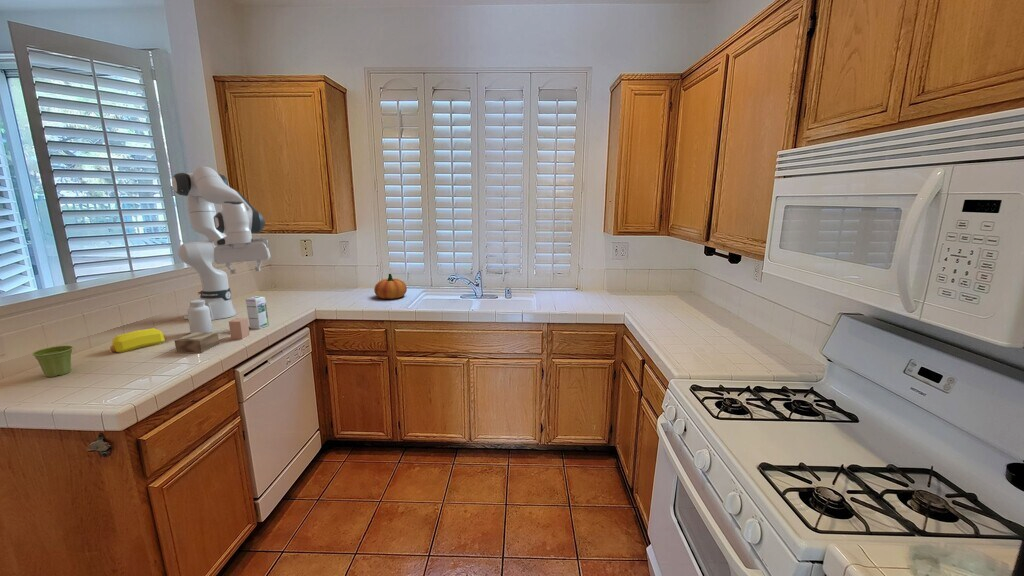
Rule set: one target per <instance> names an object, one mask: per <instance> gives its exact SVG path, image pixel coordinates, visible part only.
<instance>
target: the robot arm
mask: <svg viewBox="0 0 1024 576" xmlns="http://www.w3.org/2000/svg"><path fill="white" fill-rule="evenodd" d="M171 185H172V188H173V190H174V192H175V193H176V194H178V195H179V196H183V197H187V202H186V203H187V204H186V205H187V211H188V216H189V221H190V225H191V228H192V230H193V231H194V232H196V233H198V234H201V235H204V236H206V238H207V239H208V240H200V241H199V240H198V241H189V242H186V243H182V244H181V245H180V246H178V247H179V248H178V251H177V254H178V255H177V256H178V258H179V259H180V261H181V262H183V263H184V264H186V265H189V266H190V267H191V268H193V269H194V270H195V271H196V273H197V274H198V276H199V279H200V282H201V287H202V290H200V291H198V292H197V295H198V296H199V295H200V296H199V298H198V299H197V300H205V306H208V307H209V310H210V317H211V321H214V320H215V321H216V320H221V319H226V318H230V317H234V316H237V312H236V310H235V307H234V305H233V301H232V291H231V288H230V284H229V278H228V274H227V272H226V271H224V270H223V269H219V268H216V267H214V266H213V263H215V264H217V265H222V264H225V267H226V268H227V269H228V270H229V273H230V274H231V275H234V274H237V273H236V269H235V268H234V269H233V268H232V263H242V262H243V263H244V262H253V261H254V262H255V261H256V264H257V266H256V267H254V271H255V272H261V266H262V264H263V261H265V260H270V259H271V256H272V255H271V252H270V249H269V246H270V245H269V241H268V240H267V239H266V238H263V237H259V238H253V236H252V235H253V234H259V233H261V232H262V231H263V230H264V228H265V226H266V225H265V224H266V222H265V221H266V220H265V218H264V216H263V215H262V213H261V212H259V211H258V210H256V209H255V208H254V206H253V205H252V204H251V203H250V202H249V201H248V200H247V199H246V198H245V197H244V196H243V195H242V194H241V193H240V191H238V190H237V189H233V188H232V187H230V184H229V181H228V178H227V177H226V176H225V175H223V174H220V173H218V172H217V171H216V170H215V169H213V168H212V167H209V166H204V165H203V166H199V167H196V168H195V169H194V170H193V172H178V173H175V174H174V175H173V176H172V179H171ZM215 205H220V206H221V205H222V210H221V211H220V212H217V210H216V206H215ZM190 307H191V306H190V305H189V307H188V308H190ZM183 319H184V320H189V319H188V314H186V315H184V316H183Z"/></svg>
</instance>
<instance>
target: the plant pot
mask: <svg viewBox="0 0 1024 576" xmlns="http://www.w3.org/2000/svg"><path fill="white" fill-rule="evenodd" d="M73 349H74V346H72V345H57V346H50V347H45V348H41V349H38V350H35V351H34V352H32V353H31V355H32V356H33V357H35V359H36V360H37V362H38V364H39V366H40V368H41V370H42V373H43V374H44V377H48V378H53V377H57V376H64V375H67V374H69V373H70V372H71V371H72V354H73V353H72V352H73Z"/></svg>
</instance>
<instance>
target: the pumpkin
mask: <svg viewBox="0 0 1024 576" xmlns="http://www.w3.org/2000/svg"><path fill="white" fill-rule="evenodd" d="M407 290H408V286H407V284H406V283H405V282H404V281H403V280H401V279H399V278H393V276H392V273H388V278H383V279H381V280H379V281H378V282H377V283H376V284H375V286H374V289H373V292H374V294H375V295H376V297H378V298H380V299H383V300H393V299H399V298H402V297H404V296H405V295H406V293H407Z"/></svg>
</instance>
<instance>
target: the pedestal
mask: <svg viewBox="0 0 1024 576" xmlns="http://www.w3.org/2000/svg"><path fill="white" fill-rule="evenodd" d="M218 344H219V345H220V340H219V333H218V332H211V333H200V332H194V333H191V332H190V333H188V334H186V335H184V336H182V337H180V338H177V339H175V340H174V345H175V346H174V347H175V352H176V353H179V354H180V353H183V354H184V353H185V354H189V353H190V354H192V353H193V354H194V353H200V354H202V353H204V352H206V351H208V350H210V348H211V349H213V348H214V346H215V347H216V345H217V346H219V345H218ZM212 347H213V348H212Z"/></svg>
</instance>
